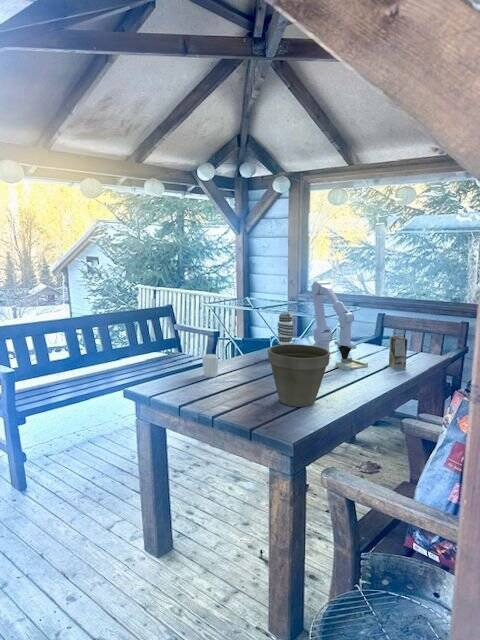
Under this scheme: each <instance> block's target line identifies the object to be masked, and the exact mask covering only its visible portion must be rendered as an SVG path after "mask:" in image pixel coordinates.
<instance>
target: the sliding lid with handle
mask: <svg viewBox="0 0 480 640" xmlns="http://www.w3.org/2000/svg"><path fill="white" fill-rule="evenodd" d="M352 360H353V357H347V358H344V359H342V358H341V359H340V362H341V363H344V364H348V365H351V366H352V367H350V369H351V371H352V370H355V369H362V368H366V367H365V365H363V364H359V363H356V362H353V361H352Z"/></svg>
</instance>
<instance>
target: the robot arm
mask: <svg viewBox="0 0 480 640" xmlns="http://www.w3.org/2000/svg"><path fill="white" fill-rule="evenodd" d="M310 288H311V289H310V290H311V295H312V302H313V310H314V315H315V322H316V328H315V329H314V330H313V341H314V342H313V344H312V346H316V347H321V348H324V349H326V350H328V351H329V352H330V344H331V342H332V340H333V338H334V337H333V333H332V330H331V328H330V327H329V326H328V325H327V320H326V315H325V314H326V312H325V307H324V301H323V299H324V297H325V296H326V297H327V299H328V300H329V301H330V302H331V304H332V309H333V311H334V312H335V314H336V315H337V316H338V317H337V320H338V324H339V328H340V329H339V340H334V341H333V342H334V345H336V346H338V350H339V352H340V354H341V355H340V356H341V359H344V358H349V354H350V352H351V350H357V345H356V344H354V343H352V323H353V322H354V320H355V315H354V314H353V312H351V311H349V310H348V309H347V308H346V306H345V305H344V303H343V302H344V301H343V302H342V301H339V299H338V297H337V295H336V294H335V292H334V290H333V284H332V283H331V281H329V280H323V281H320V280H319V281H313V283H312V284H311V287H310ZM330 359H332V357H331V356H330V358H329V360H330Z"/></svg>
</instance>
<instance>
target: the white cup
mask: <svg viewBox="0 0 480 640" xmlns="http://www.w3.org/2000/svg"><path fill="white" fill-rule="evenodd" d="M201 358H202V369H203V370H202V371H203V376H204V377H205V378H216V377H217V376H218V368H219V354H215V353H214V354H213V353H208V354H207V353H206V354H203V355H202V356H201Z"/></svg>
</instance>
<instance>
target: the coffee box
mask: <svg viewBox="0 0 480 640" xmlns="http://www.w3.org/2000/svg"><path fill="white" fill-rule="evenodd" d="M389 337H390V338H389V355H388V356H389V357H388V366H389V367H391V368H392V369H393V370H407V369H406V368H407V366H406V365H407V351H408V350H407V349H408V338H405V337H404V336H400V335H399V336H397V335H395V336H389Z"/></svg>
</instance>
